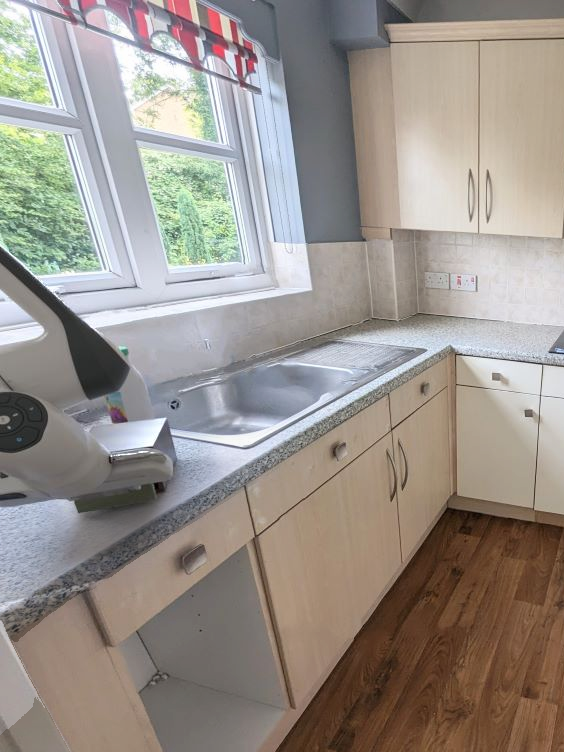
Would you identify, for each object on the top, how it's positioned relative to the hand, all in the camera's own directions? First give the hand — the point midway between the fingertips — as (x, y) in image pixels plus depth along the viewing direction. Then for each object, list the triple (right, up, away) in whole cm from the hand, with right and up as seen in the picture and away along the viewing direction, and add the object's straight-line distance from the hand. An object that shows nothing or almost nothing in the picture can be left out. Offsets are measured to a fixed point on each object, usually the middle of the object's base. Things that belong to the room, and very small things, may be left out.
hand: (106, 490), depth 75 cm
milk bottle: (-25, +8, +34) cm, 43 cm away
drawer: (-4, -2, +7) cm, 8 cm away
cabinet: (-7, -1, +13) cm, 15 cm away
